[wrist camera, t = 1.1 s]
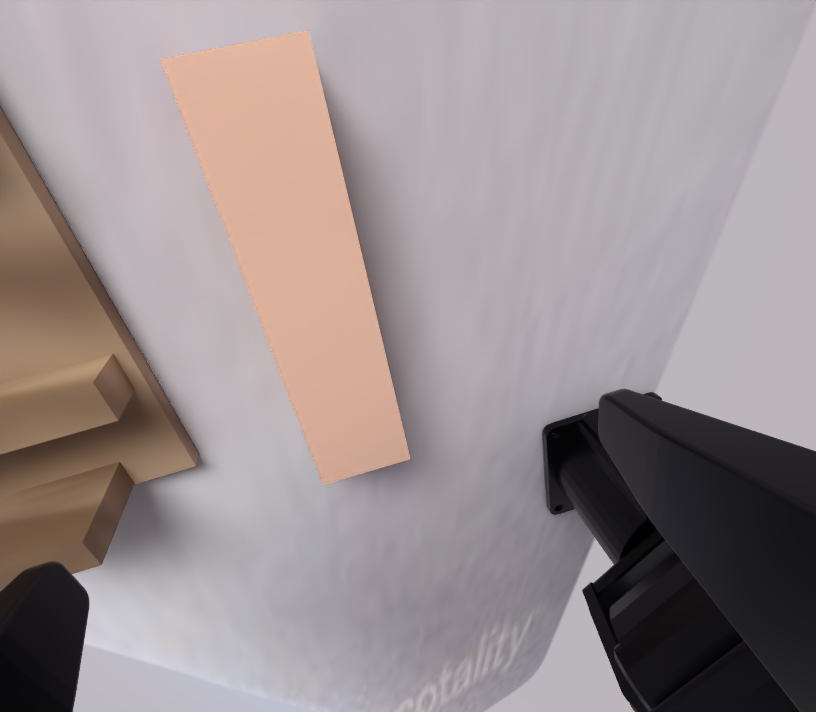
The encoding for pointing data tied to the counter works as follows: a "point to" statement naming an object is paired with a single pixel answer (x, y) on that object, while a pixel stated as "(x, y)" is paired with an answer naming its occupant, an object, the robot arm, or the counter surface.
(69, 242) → the rack
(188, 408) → the counter surface
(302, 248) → the long rectangular block
